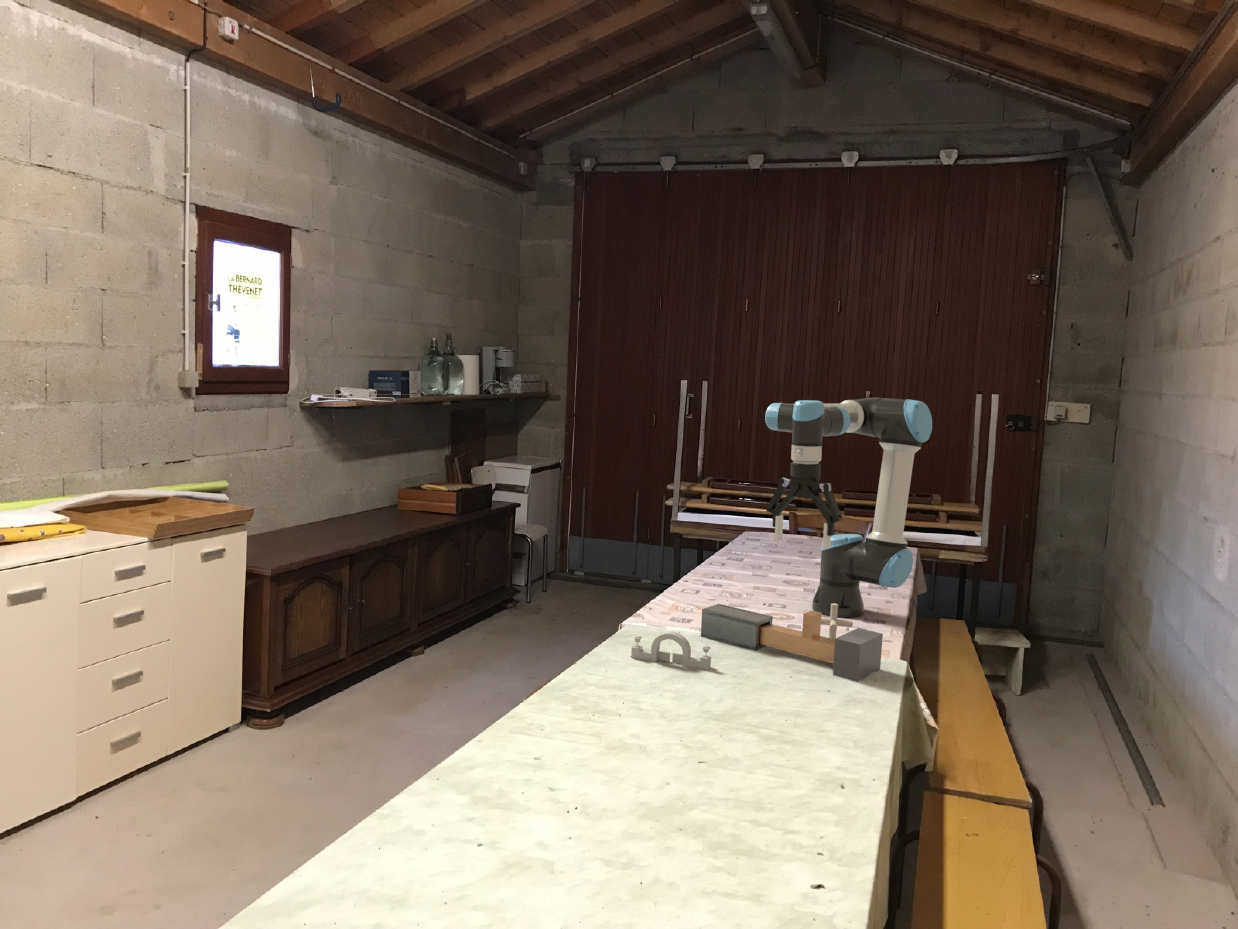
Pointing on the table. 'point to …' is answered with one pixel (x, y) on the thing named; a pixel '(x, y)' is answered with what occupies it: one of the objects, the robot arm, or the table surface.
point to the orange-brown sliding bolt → (799, 638)
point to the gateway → (677, 658)
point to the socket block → (857, 654)
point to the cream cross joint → (835, 621)
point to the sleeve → (733, 625)
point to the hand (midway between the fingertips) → (802, 544)
